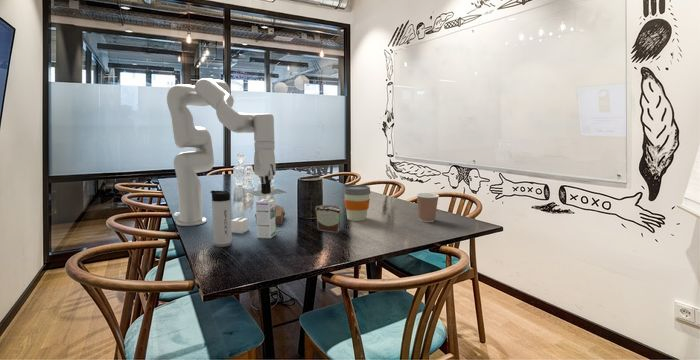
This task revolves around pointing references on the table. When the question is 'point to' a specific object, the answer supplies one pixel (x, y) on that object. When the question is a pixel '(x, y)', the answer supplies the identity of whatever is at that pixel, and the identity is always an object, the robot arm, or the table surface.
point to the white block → (239, 225)
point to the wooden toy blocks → (278, 214)
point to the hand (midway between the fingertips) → (266, 193)
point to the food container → (328, 217)
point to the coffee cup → (427, 206)
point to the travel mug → (221, 218)
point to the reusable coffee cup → (356, 201)
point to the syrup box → (266, 218)
